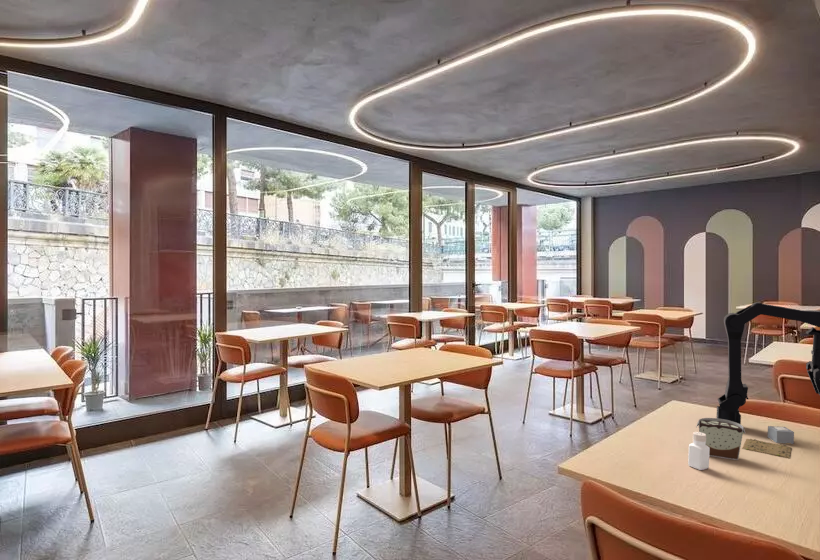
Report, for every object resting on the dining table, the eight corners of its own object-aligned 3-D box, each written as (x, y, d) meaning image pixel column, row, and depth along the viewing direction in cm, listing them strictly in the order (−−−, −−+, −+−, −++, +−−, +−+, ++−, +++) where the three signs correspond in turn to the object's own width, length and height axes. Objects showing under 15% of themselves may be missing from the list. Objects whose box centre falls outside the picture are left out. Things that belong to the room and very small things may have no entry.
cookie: (745, 439, 164) (745, 436, 164) (792, 448, 156) (792, 445, 156) (741, 450, 155) (741, 447, 155) (790, 460, 147) (790, 457, 147)
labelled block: (776, 443, 160) (777, 430, 160) (767, 437, 165) (768, 425, 165) (793, 444, 159) (794, 431, 159) (784, 438, 164) (784, 426, 164)
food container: (740, 454, 150) (741, 421, 150) (744, 461, 145) (745, 427, 144) (693, 447, 155) (694, 415, 155) (695, 453, 150) (696, 420, 149)
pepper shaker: (700, 471, 137) (702, 436, 137) (687, 465, 141) (688, 432, 140) (709, 468, 139) (711, 434, 138) (695, 463, 142) (697, 430, 142)
